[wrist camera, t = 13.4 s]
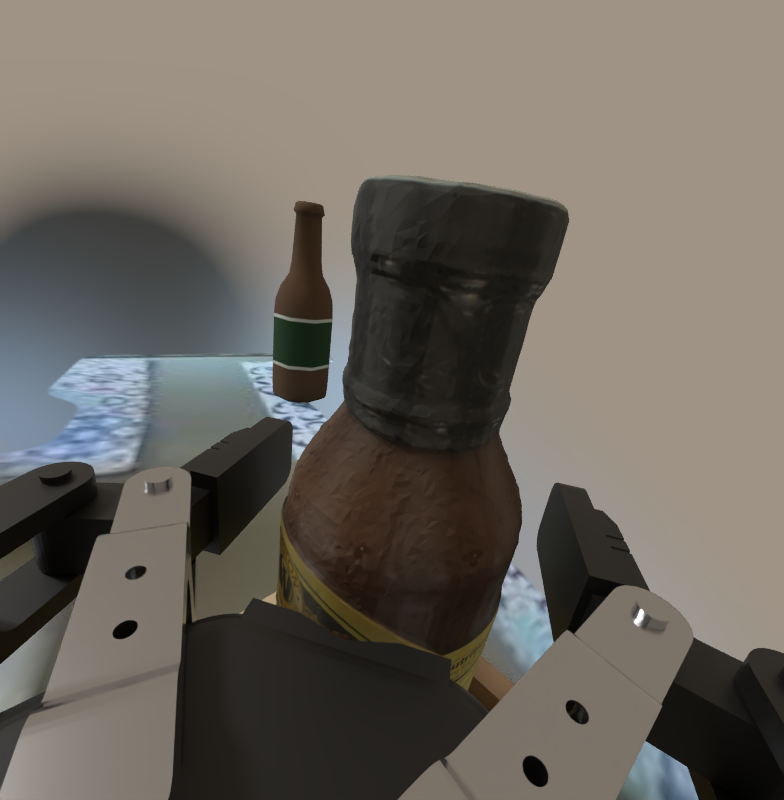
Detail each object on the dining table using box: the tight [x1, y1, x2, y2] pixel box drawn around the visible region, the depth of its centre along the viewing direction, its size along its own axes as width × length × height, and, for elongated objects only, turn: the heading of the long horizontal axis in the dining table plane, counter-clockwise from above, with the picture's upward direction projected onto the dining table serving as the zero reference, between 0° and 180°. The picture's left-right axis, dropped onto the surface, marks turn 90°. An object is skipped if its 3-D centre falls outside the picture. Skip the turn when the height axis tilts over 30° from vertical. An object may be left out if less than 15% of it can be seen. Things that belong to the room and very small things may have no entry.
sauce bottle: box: [276, 175, 569, 691], centre depth 11 cm, size 6×6×20 cm
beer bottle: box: [273, 201, 332, 402], centre depth 50 cm, size 8×8×24 cm
